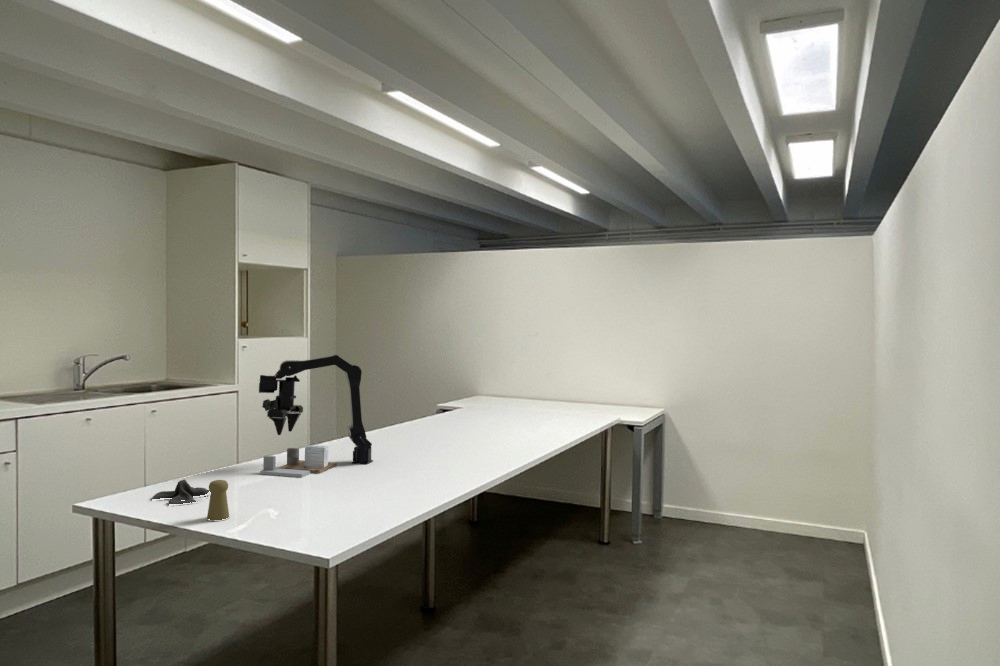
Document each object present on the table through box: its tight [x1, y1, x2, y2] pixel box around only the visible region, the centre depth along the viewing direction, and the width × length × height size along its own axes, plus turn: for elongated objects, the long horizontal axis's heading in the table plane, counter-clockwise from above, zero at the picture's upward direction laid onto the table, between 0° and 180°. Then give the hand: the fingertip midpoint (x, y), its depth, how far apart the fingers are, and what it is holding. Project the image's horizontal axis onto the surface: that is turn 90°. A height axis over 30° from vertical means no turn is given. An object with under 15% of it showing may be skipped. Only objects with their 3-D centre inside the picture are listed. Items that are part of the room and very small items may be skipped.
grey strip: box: [259, 455, 311, 478], centre depth 252 cm, size 17×6×6 cm, turn 77°
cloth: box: [151, 479, 209, 505], centre depth 220 cm, size 22×19×6 cm
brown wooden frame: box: [278, 447, 338, 474], centre depth 263 cm, size 17×14×7 cm
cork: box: [206, 479, 230, 520], centre depth 197 cm, size 6×6×11 cm
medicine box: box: [304, 444, 329, 469], centre depth 262 cm, size 8×4×9 cm, turn 84°
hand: (284, 433), depth 264 cm, fingers open, 9 cm apart
